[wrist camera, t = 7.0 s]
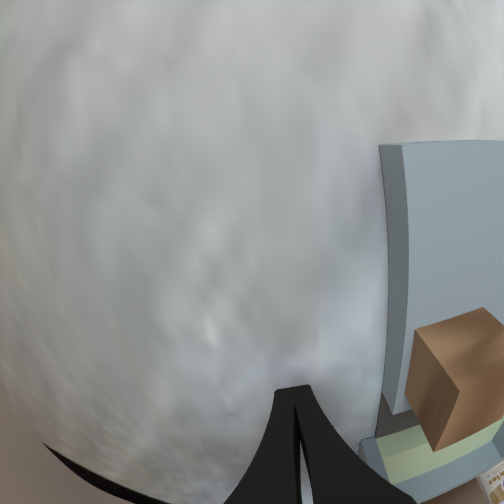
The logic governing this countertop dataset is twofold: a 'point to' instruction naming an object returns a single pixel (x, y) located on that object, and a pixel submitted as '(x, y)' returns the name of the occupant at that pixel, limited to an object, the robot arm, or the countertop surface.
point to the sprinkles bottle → (493, 484)
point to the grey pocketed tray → (437, 295)
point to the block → (457, 377)
